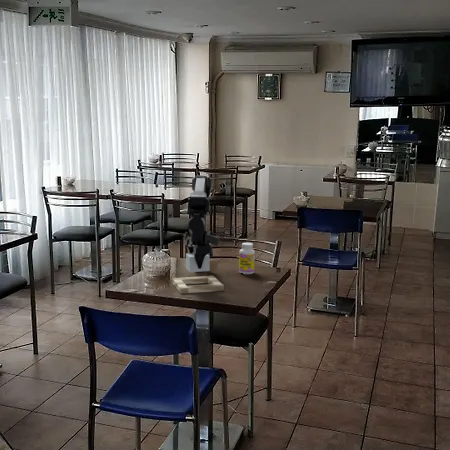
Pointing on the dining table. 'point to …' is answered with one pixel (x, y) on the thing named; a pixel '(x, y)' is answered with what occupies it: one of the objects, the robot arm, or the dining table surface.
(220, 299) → the dining table surface
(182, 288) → the birch pocket board
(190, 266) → the grey-blue cabinet box
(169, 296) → the dining table surface
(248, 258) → the supplement bottle
